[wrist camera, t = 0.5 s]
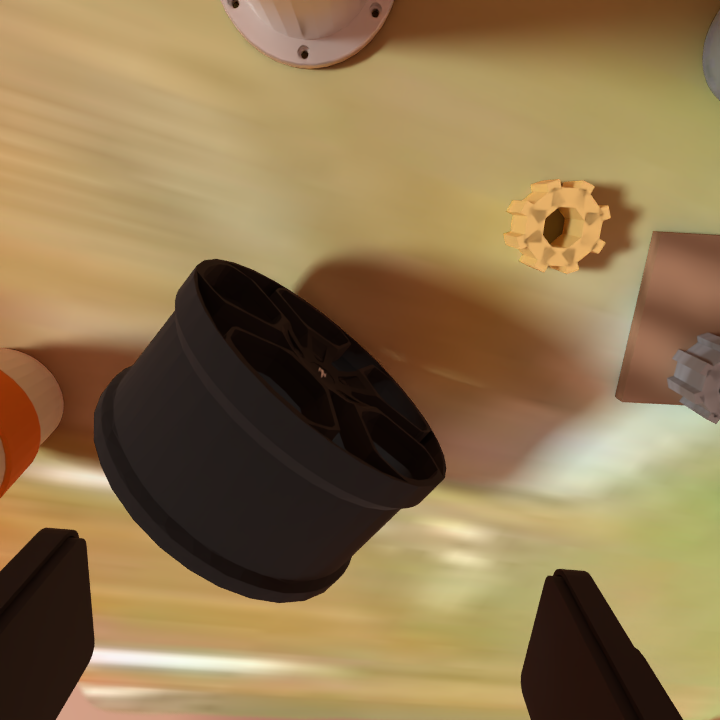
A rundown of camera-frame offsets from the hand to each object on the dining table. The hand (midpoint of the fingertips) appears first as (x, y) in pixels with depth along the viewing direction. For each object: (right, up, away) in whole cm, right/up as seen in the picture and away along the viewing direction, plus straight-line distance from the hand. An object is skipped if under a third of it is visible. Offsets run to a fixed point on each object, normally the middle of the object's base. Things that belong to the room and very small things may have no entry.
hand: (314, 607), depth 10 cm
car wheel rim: (-4, +4, +33) cm, 34 cm away
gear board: (+30, +8, +31) cm, 44 cm away
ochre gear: (+15, +16, +29) cm, 36 cm away
